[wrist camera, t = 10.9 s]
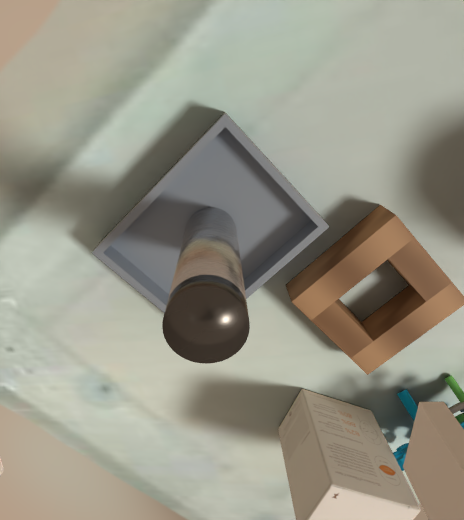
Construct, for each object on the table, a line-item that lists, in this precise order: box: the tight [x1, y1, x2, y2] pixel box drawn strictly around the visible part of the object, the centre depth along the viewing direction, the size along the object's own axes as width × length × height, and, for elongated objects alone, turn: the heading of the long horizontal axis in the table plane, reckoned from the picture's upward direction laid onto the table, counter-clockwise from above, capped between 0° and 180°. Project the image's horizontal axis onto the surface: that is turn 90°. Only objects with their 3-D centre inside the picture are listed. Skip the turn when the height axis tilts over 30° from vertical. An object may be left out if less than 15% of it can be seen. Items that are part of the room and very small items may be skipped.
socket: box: [286, 205, 464, 375], centre depth 33 cm, size 10×10×3 cm
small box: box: [278, 389, 421, 520], centre depth 35 cm, size 8×6×10 cm
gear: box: [393, 376, 464, 471], centre depth 37 cm, size 11×6×10 cm
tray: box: [92, 112, 329, 313], centre depth 31 cm, size 14×11×2 cm
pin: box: [163, 207, 249, 363], centre depth 25 cm, size 4×4×14 cm
